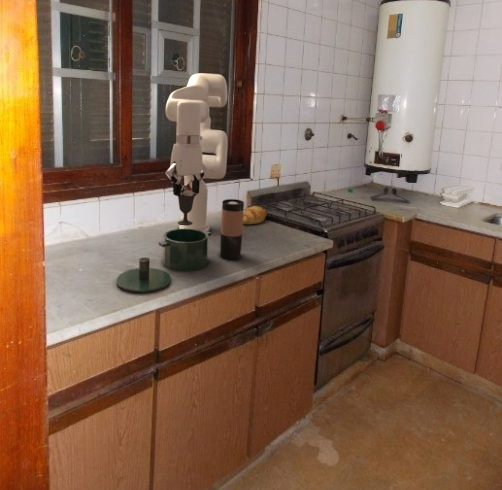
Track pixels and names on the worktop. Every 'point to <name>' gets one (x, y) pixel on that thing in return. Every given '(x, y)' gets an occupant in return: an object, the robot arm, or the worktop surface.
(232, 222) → the travel mug
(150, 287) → the lid
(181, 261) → the pot
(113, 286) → the worktop surface
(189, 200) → the sundae
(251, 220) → the bread loaf
